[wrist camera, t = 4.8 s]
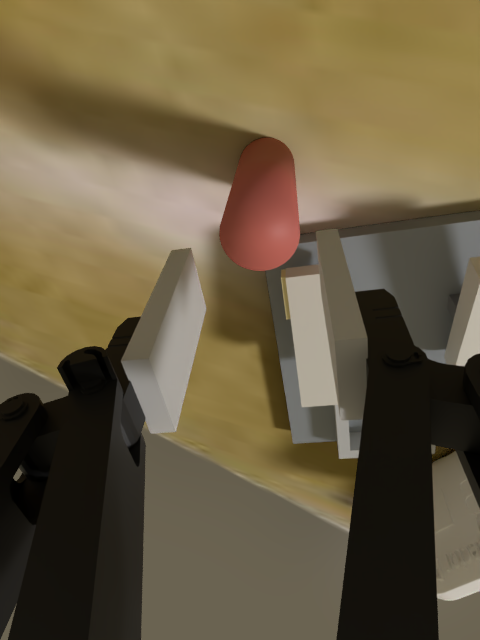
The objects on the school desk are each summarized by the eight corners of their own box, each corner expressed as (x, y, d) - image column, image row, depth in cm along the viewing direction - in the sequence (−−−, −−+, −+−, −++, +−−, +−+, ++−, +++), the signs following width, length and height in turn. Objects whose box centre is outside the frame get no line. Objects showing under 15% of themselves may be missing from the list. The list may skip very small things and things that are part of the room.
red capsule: (234, 142, 28) (211, 202, 19) (291, 133, 28) (295, 190, 19) (243, 197, 30) (227, 274, 21) (296, 189, 30) (303, 266, 21)
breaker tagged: (281, 268, 30) (280, 278, 28) (330, 262, 30) (333, 272, 28) (297, 392, 34) (297, 407, 32) (340, 388, 34) (343, 404, 32)
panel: (262, 239, 32) (260, 261, 29) (535, 203, 29) (563, 223, 26) (292, 431, 43) (293, 461, 40) (493, 418, 40) (510, 449, 37)
